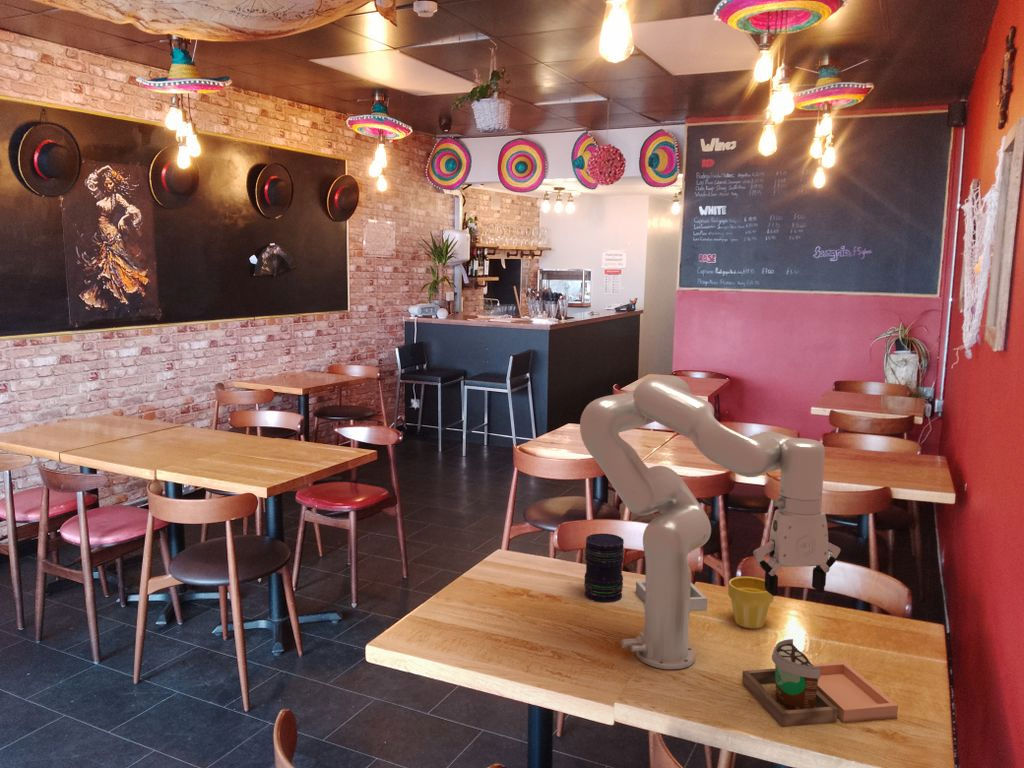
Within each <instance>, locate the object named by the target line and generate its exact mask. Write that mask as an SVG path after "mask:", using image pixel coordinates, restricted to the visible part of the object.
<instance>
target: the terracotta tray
mask: <svg viewBox="0 0 1024 768" xmlns="http://www.w3.org/2000/svg"><path fill="white" fill-rule="evenodd" d="M811 664H812V665H813V666H817V667H820V668H819V670H820V678H818V685H817V690H818V691H819V692H820V693H821V694H822V695H823V696H824V697H825V698H826V699H828V700H829V701H830V702H831V703H832V704H833V705H834V706H835V707H836V708H837V709H838V714H837V719H839V720H840V721H841V722H842V723H843V724H845V723H857V722H866V721H878V720H890V719H897V718H898V711H899V710H898V708H899V705H898V704H897V703H896V702H895V701H894V700H892V699H891V698H890V697H889V696H887V695H886V694H885V693H884V692H882V691H881V690H880V689H879V688H877V687H876V686H875V685H874V684H873V683H871V681H869V680H868V679H866V678H865V677H864V676H863V675H862V674H860V673H859V672H858V671H857V670H856V669H854V668H853V667H852V666H851V665H849V664H848V663H847V662H846V661H839V662H837V661H836V662H824V663H811Z"/></svg>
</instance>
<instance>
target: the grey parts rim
mask: <svg viewBox="0 0 1024 768" xmlns="http://www.w3.org/2000/svg"><path fill="white" fill-rule="evenodd" d="M645 582H646V580H638V581H636V582H635V593H636V594H637V596H638V597H639V598H640V599H641V601H642V602H643V603H644V604H645V588H646V586H645ZM707 610H708V597H707V596H705V594H704V593H703V592H702V591H701V590H699V589H698V588H697V587H696V585H694V583H692V582H691V592H690V612H693V611H707Z"/></svg>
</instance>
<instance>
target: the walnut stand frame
mask: <svg viewBox="0 0 1024 768" xmlns="http://www.w3.org/2000/svg"><path fill="white" fill-rule="evenodd" d="M741 683H742V685H744V687H745V688H746V689H747V690H748V691H749V692H750V693H751V695H753V697H755V699H756V700H757V701H758V702H759V703H760V704H761V705H762V706H763V708H764V709H766V711H767V713H769V714H770V715H771V716H772V718H773V719H774V720H775V721H776V722H777V723H778V724H779V725H780V726H781V728H782V727H783V728H784V727H793V726H795V727H797V726H804V725H805V726H807V725H815V724H816V725H817V724H825V723H827V724H829V723H837V722H838V717H837V714H838V709H837V708H836V707H835V706H834V705H833V704H832V703H831V702H830V701H829V700H828V699H826V698H825V697H824V696H823V695H822V694H821V693H820V692H819V691H818V690H817V693H816V701H815V708H809V709H798V710H789V709H787V710H786V709H784V707H783V706H782V705H781V704H780V703H779V702H778V701H777V699H775V698H774V697H773V696H772V695H771V694H770V693H769V692H768V691H767V690H766V689H765V687H763V685H764V684H773V683H775V684H776V677H775V667H774V668H765V669H751V670H749V669H748V670H742V677H741Z"/></svg>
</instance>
